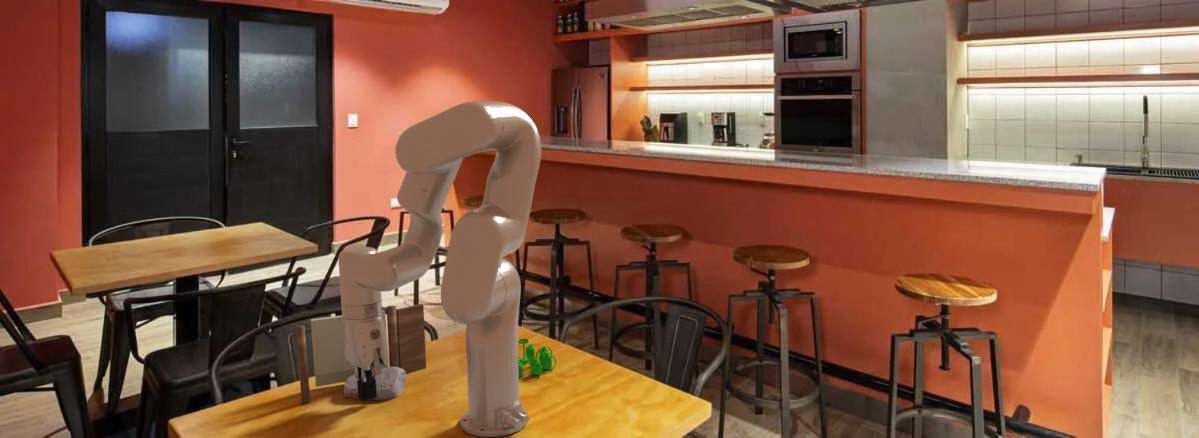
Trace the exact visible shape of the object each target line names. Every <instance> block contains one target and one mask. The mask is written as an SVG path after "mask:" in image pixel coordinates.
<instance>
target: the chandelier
mask: <svg viewBox="0 0 1199 438" xmlns="http://www.w3.org/2000/svg"><path fill="white" fill-rule="evenodd" d="M518 344H520V345H522V357H520V356H518V371H519V378H521V377H522V376H523V374H524V371H523V370H524V369H523V368H524V367H523V365H524V364H529V366H530V370H531V374H532V376H536V377H537V378H538V377H539V378H540V377H541V375H542V373H543V370H549V371H552V370H554V369H555V367H556V365H557V359H556V357H555V355H554V354H553V351H552V349H551V347H549V346H545V345H544V346H541V347H539V348H538V350H537V351H535V348H534V345H533V343H532V342H531V343H529V339H528V338H520V339H518ZM526 344H527V346H526V347H525V345H526ZM535 353H536V354H535ZM538 355H539V356H538ZM552 357H553V360H554V365H553V363H552ZM552 365H553V366H552Z"/></svg>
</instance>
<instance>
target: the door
mask: <svg viewBox="0 0 1199 438" xmlns="http://www.w3.org/2000/svg"><path fill="white" fill-rule="evenodd" d="M382 318H383V322H384V327H385V332H386V338H387V339H388V332H387V314H386V309H385V310H384V309H382ZM310 324H311V325H310V326H311V339H312V340H311V341H312V354H313V355H312V356H313V368H314V383H315V387H323V386H328V385H334V384H340V383H345V382H346V380H347V379H348V377H349V376H350V375H351V374H353V373H354V372H355V368H354V366H353V365H352V364H351V362H349V361H348V360H347V359H346V357H345V349H344V320H343V319H342V314H341V315H335V316H327V317H320V318H311V319H310ZM380 367H381V369H382V368H388V367H389V364H388V365H386V366H384V365H381V364H380Z"/></svg>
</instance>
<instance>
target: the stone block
mask: <svg viewBox="0 0 1199 438" xmlns="http://www.w3.org/2000/svg"><path fill="white" fill-rule="evenodd" d="M381 373H382V374H381V375H380V376H377V379H376V390H377V396H376V397H375V398H372V399H370V400H372V401H374V400H376V401H385V400H391V399H396V398H397V397H399V396H401V395H402V394H403V389H404V388H405V384H406V382H407V381H406V375H407V374H405V371H404V370H403V369H402V368H399V367H390V366H388V368H382V369H381ZM358 380H359V379H358ZM343 395H344V397H346V398H348V399H349V398H351V399H359V398H358V388H357V379H356V374H355V372H354V373H353V374H351V375H350V376H349V377H348V379H347V380H346V382H344V384H343Z"/></svg>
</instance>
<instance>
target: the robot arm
mask: <svg viewBox="0 0 1199 438" xmlns="http://www.w3.org/2000/svg"><path fill="white" fill-rule="evenodd" d="M539 133H540V132H539V131H538V128H537V126H536V124H535V122H533V119H532V118H531V117H530V116H529V115H528V114H527V113H526V112H525V111H524V110H522V109H521V108H519V107H517V106H516V105H514V104H511V103H508V102H503V101H495V100H494V101H491V100H490V101H482V100H479V101H478V100H475V101H467V102H463V103H460V104H456V105H455V106H454V105H453V106H452V107H450V108H448V109H446V110H444V111H441V112H439V113H437V114H435V115H433V116H430V117H428V118H426V119H424V120H422V121H419V122H417V123H414V124H413V125H410V126H409V127H408V128H407V129H405V130H404V131H403V132H402V133H401V134H400V136H399V137H398V140H397V142H396V144H395V145H396V146H395V151H394V152H395V157H396V158H395V159H396V161H397V163H398V165H399V167H400V168H402V170H404V171H405V175H404V176H403V177H404V178H403V179H402V182H401V185H400V188H399V190H398V192H397V195H396V200H397V203H398V204H399V206H400V207H401V208H403V209H404V210H405V211H407V212H408V213H409V215H410V216H409V217H410V221H409V225H408V228H407V231H406V233H405V236H404V239H403V241H402V243H401V245H399V246H395V247H392V248H389V249H387V250H382V251H380V252H379V251H378V250H377V249H376V248H374V247H371V246H355V247H354V246H353V247H348V248H345V249H343V250H341V252H339V255H338V272H339V287H340V304H341V315H342V319H343V320H344V349H345V357H346V359H347V360H348V361H349V362H351V364H352V365H353V366H354V368H355V374H356V379H357V388H358V398H357V399H359V400H361V401H362V402H365V401H368V400H369V401H370V400H371V399H372V398H375V397H376V396H377V390H376V379H377V376H380V375H381V374H382V373H381V367H380V364H381V365H384V366H386V365H388V366H389V364H390V363H389V345H388V337H387V338H386V333H387V331H386V332H385V327H384V322H383V318H382V310H383V306H382V305H383V303H382V302H383V300H382V293H383V292H385V293H386V292H391V291H394V290H396V289H399V288H401V287H403V286H405V285H408V284H410V283H412V282H414V281H418V280H419V279H421V278H422V277H423V276H424V275H425V274H427V272H428V270H429V269H430V267H431V266H432V263H433V261H434V259H435V256H436V254H437V251H438V249H439V247H440V244H441V242H442V241H441V240H442V236H443V220H442V218H443V217H442V211H443V208H444V205H445V203H446V201H447V199H448V196H449V193H450V191H451V188H452V187H453V183H454V182H455V179H456V177H457V174H458V172H459V169H460V167H461V165H462V162H463V159H465V158H466V157H469V156H472V155H475V154H478V153H483V152H489V151H490V152H492V151H494V152H495V157H494V161H493V163H492V165H491V168H490V170H489V172H488V175H487V178H486V185H485V191H484V195H483V199H482V202H481V204H480V207H477V208H473V209H471V210H469V211H468V212H466V213H465V214H463V215H461V217H460V218H459V219H458V220H457V221H456V223H455V225H454V227H453V229H452V232H451V234H450V238H449V242H448V248H447V252H446V258H445V264H444V270H443V275H442V281H441V287H440V300H441V305H442V309H443V310H444V312H445V314H446V315H447V316H448V317H449V319H451V320H452V321H453V322H455V323H457V324H460V325H466V332H465V343H466V345H465V347H466V349H465V351H466V353H465V354H466V374H467V375H466V376H467V377H466V378H467V380H466V381H467V398H468V399H467V400H468V401H467V402H468V403H467V405H468V408H467V409H468V410H467V411H465V412H464V413H463V414H462V415H461V418H460V427H461V429H462V430H463V431H464V432H466V433H467V434H470V435H472V436H476V437H481V438H496V437H502V436H504V437H505V436H508V435H511V434H514V433H516V432H520V431H521V430H522V429H523V428H524V427H525V426H526V425H527V424H528V422H529V420H530V416H529V414H528V412H527V410H525V409H524V408H523V403H522V402H520V385H519V384H520V381H519V378H520V377H519V371H518V359H519V358H518V357H519V331H518V330H519V309H520V303H521V302H520V301H521V294H522V293H521V292H522V286H521V284H522V283H521V278H520V275H519V273H518V270H517V269H516V268H515V266H514V265H513V264H512V263H511V262H510V261H509V260H506V259H504V257H507V256H508V255H510V254H512V253H515V252H516V251H517V250H518V249H519V248H520V247H521V246H522V245H523V243H524V240H525V238H526V233H527V228H528V223H529V218H530V213H531V209H532V204H533V199H534V194H535V193H534V191H535V186H536V182H537V178H538V174H539V169H540V165H541V158H542V142H541V137H540V134H539ZM358 379H359V380H358Z"/></svg>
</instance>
